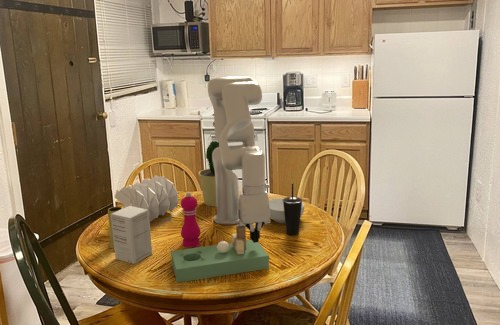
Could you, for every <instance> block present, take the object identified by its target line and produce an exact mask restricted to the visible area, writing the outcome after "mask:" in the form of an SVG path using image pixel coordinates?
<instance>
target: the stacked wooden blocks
mask: <svg viewBox="0 0 500 325" xmlns="http://www.w3.org/2000/svg"><path fill="white" fill-rule="evenodd" d="M235 227H236V228H235V230H236V232H235V233H231V243H232V246H233V247H234V249H235V250H236V252H237V253H238V254H244V250H246V241H247V236H246V235H247V233H246V229H247V227H240V226H239V224H236V226H235Z"/></svg>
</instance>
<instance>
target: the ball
mask: <svg viewBox="0 0 500 325" xmlns="http://www.w3.org/2000/svg"><path fill="white" fill-rule="evenodd" d="M216 245H217V249H218V251H219V252H220V253H226V252H227V251H228V250H229V244H228V241H226V240H225V241H224V240H221V241H219V242H218V243H217V244H216Z"/></svg>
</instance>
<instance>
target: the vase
mask: <svg viewBox="0 0 500 325" xmlns="http://www.w3.org/2000/svg"><path fill="white" fill-rule="evenodd" d="M121 209H123V207H122V206H112V207H111V206H110V207H109V208H108V209H107V218H108V230H109V232H108V233H109V244H110V245H109V246H110V248H112V249H114V241H113V232H112V222H111V214H112V213H114V212H117V211H119V210H121Z"/></svg>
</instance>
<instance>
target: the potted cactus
mask: <svg viewBox="0 0 500 325" xmlns="http://www.w3.org/2000/svg"><path fill="white" fill-rule="evenodd" d="M207 145H208V146H207V149H206V151H204V152H205V153H204V155H203V157H205V160H206V159H207V160H206V162H207V163H208V164H207V165H208V166H207V167H208V168H205V169H202V170H200V171H198V178H199V182H200V187H201V191H202V197H203V203H204V205H206V206H208V207H217V204H216V181H215V170H214V164H213V159H212V153H213V151H214V149H216V148H217V147H219V142H218V141H217V140H212V141H210V142H209V143H208V144H207Z"/></svg>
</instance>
